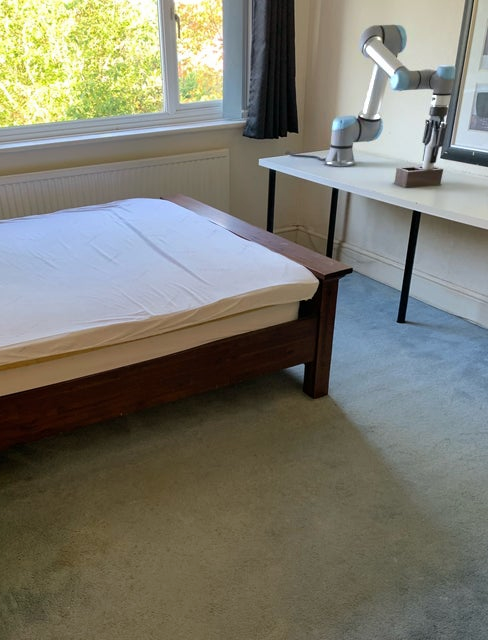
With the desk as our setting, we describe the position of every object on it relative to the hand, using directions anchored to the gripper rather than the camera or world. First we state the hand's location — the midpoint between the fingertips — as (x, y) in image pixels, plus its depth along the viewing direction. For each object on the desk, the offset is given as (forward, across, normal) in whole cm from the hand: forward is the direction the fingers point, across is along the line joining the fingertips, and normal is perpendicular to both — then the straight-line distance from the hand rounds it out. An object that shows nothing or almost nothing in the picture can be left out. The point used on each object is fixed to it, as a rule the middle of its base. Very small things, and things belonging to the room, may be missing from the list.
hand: (429, 161), depth 272 cm
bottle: (+10, 0, 0) cm, 10 cm away
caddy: (+10, 0, -4) cm, 11 cm away
